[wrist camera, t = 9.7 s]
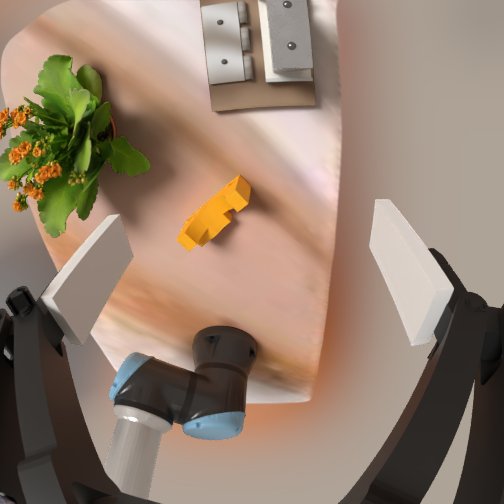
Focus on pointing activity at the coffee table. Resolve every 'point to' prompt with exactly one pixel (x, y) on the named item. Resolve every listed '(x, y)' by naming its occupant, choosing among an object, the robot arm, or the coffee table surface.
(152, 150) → the coffee table surface
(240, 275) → the coffee table surface
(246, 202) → the pipe clamp
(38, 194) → the potted flower
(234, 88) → the hinge board
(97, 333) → the coffee table surface
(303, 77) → the leaf seat
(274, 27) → the leaf block
